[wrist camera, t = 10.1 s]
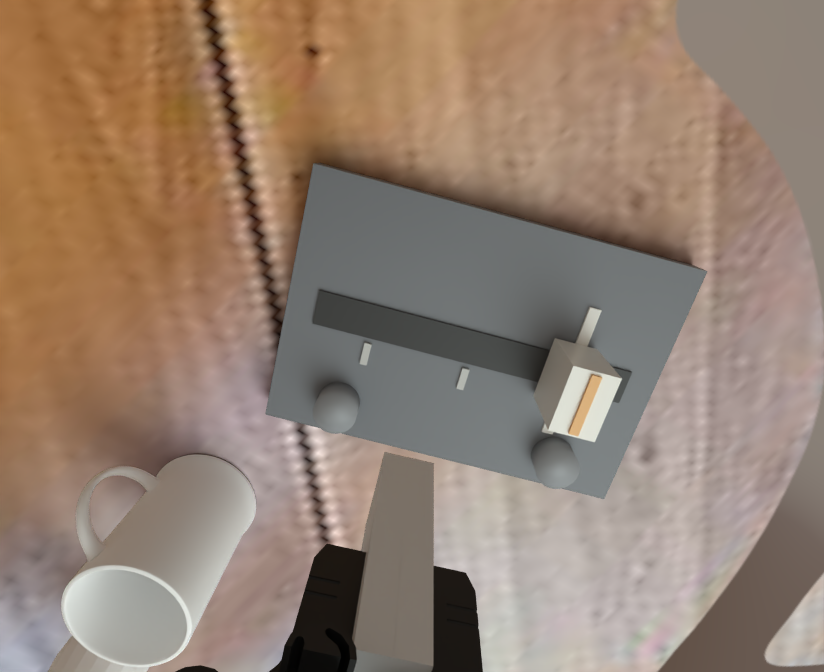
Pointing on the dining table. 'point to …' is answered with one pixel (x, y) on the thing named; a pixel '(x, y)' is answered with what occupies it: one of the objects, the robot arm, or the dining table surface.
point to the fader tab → (575, 390)
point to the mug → (157, 560)
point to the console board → (465, 328)
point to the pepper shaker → (85, 661)
